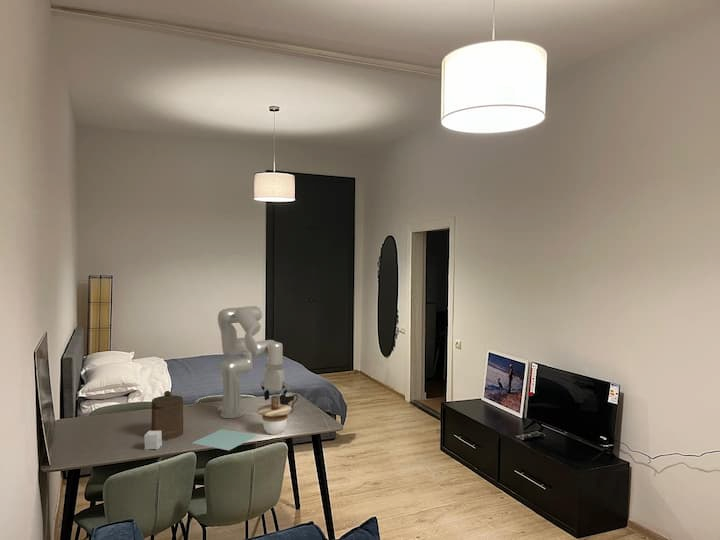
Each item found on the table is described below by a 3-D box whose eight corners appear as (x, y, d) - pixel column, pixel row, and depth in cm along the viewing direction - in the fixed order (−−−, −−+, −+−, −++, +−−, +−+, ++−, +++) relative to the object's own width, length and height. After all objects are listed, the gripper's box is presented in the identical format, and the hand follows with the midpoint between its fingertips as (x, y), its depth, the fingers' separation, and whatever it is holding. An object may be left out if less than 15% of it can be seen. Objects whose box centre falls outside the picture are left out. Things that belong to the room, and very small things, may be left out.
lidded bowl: (282, 438, 261) (282, 415, 261) (258, 436, 264) (258, 414, 264) (290, 429, 274) (291, 408, 273) (267, 428, 276) (267, 406, 276)
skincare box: (162, 445, 250) (162, 430, 250) (157, 450, 244) (157, 434, 244) (149, 445, 250) (148, 430, 250) (144, 450, 244) (144, 434, 244)
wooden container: (172, 428, 275) (172, 386, 274) (189, 434, 266) (189, 390, 265) (145, 435, 264) (145, 391, 263) (161, 442, 254) (161, 397, 254)
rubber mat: (191, 443, 253) (191, 442, 253) (221, 429, 273) (221, 429, 273) (228, 451, 244) (228, 450, 244) (257, 436, 264) (257, 435, 264)
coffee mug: (281, 414, 299) (281, 397, 299) (277, 410, 307) (277, 393, 307) (301, 412, 303) (301, 395, 303) (297, 408, 311) (297, 391, 311)
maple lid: (250, 413, 264) (250, 399, 264) (270, 404, 280) (270, 391, 280) (279, 418, 257) (279, 403, 257) (298, 408, 273) (298, 395, 273)
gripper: (256, 366, 268) (256, 400, 269) (285, 370, 261) (285, 404, 261) (265, 364, 275) (264, 396, 275) (293, 367, 268) (293, 401, 268)
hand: (274, 400), depth 268 cm, fingers open, 9 cm apart
